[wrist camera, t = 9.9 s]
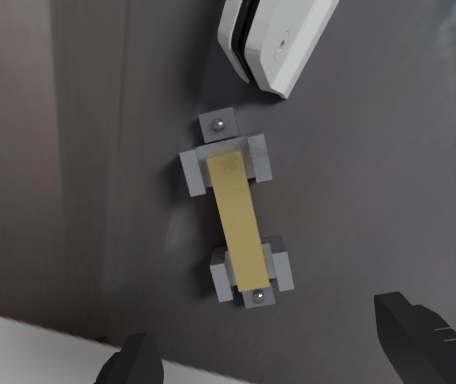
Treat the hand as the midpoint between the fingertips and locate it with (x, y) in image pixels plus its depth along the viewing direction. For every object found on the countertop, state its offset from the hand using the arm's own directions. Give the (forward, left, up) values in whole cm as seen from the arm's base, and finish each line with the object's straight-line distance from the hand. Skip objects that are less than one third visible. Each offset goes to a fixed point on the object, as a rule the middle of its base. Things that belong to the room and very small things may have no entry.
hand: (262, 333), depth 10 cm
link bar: (-1, -2, -19) cm, 19 cm away
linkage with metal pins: (-1, -2, -20) cm, 20 cm away
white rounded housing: (+8, +17, -21) cm, 28 cm away
